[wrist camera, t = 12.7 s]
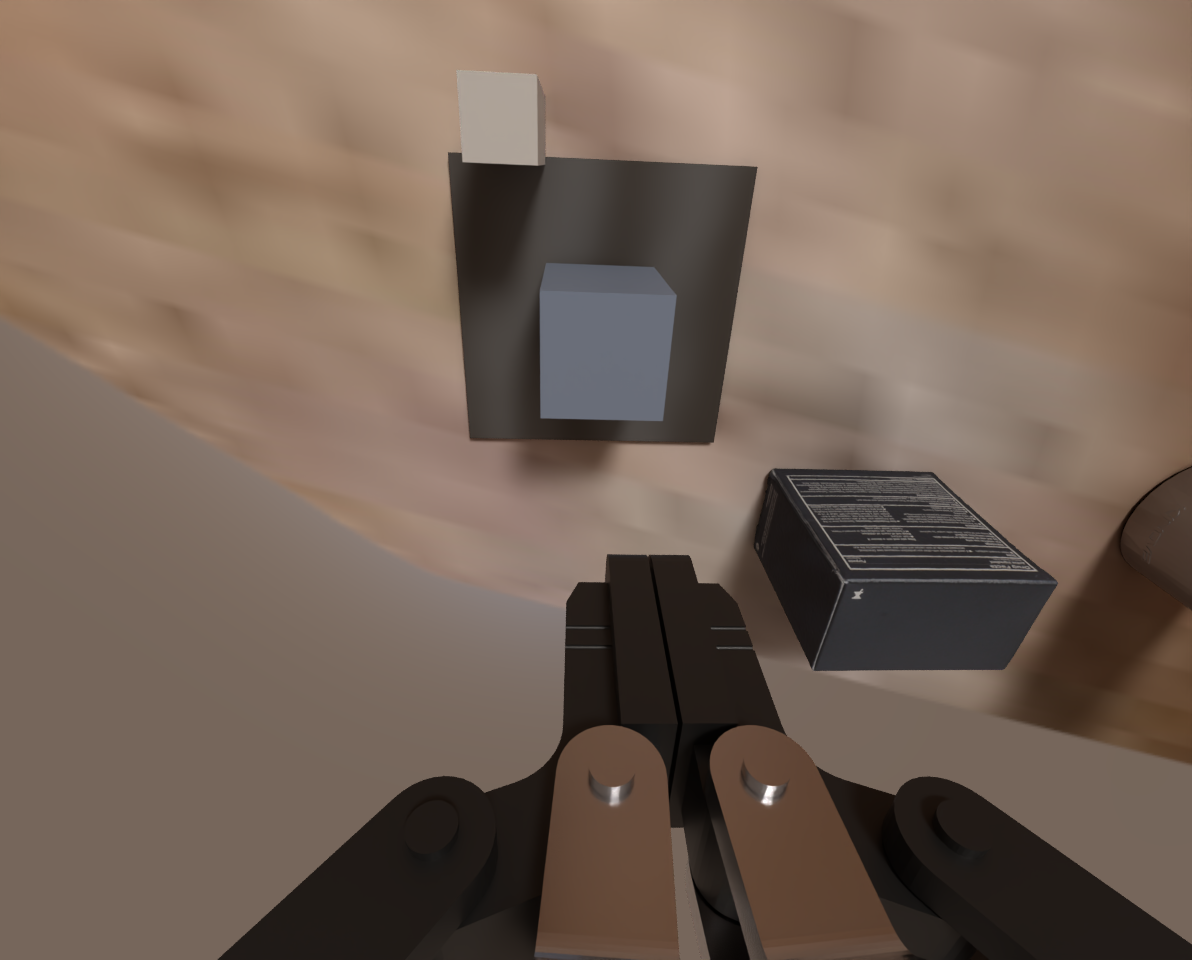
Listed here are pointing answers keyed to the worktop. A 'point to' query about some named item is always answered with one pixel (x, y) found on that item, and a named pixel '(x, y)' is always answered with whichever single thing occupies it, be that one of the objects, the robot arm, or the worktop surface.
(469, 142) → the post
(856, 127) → the worktop surface
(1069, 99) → the worktop surface
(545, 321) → the blue-grey block
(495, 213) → the dark grey square tray
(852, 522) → the small box
